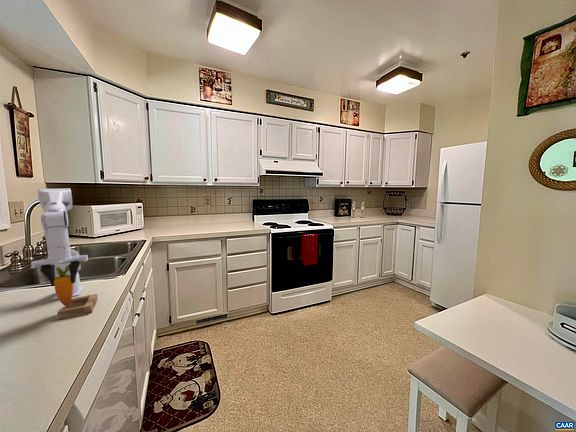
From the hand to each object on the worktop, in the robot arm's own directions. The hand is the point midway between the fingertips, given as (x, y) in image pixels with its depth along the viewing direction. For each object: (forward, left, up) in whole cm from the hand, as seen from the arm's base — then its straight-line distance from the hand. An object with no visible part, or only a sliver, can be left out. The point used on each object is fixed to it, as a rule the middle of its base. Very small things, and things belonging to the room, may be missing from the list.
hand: (64, 283), depth 87 cm
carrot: (0, 0, -9) cm, 9 cm away
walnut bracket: (0, +2, -10) cm, 11 cm away
